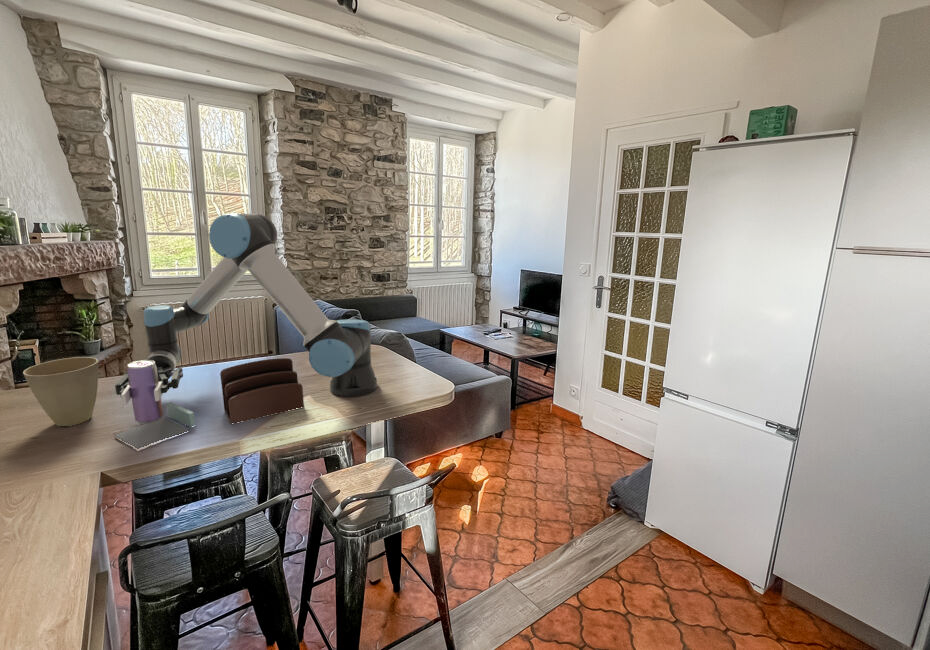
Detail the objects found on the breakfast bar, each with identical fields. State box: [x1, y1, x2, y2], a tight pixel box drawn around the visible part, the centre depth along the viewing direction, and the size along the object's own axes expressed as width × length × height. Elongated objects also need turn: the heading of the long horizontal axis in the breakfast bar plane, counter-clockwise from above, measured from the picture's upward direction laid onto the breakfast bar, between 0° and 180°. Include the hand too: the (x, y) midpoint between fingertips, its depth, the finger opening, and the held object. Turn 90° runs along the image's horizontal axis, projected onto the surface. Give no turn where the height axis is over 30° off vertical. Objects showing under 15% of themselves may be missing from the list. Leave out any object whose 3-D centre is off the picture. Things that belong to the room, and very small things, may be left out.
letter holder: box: [219, 357, 305, 425], centre depth 130 cm, size 10×20×14 cm, turn 127°
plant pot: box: [22, 356, 99, 427], centre depth 121 cm, size 15×15×16 cm
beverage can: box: [126, 359, 164, 425], centre depth 113 cm, size 6×6×15 cm
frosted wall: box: [165, 401, 196, 428], centre depth 123 cm, size 12×1×4 cm, turn 58°
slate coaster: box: [114, 417, 190, 449], centre depth 116 cm, size 12×12×1 cm
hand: (140, 397), depth 109 cm, fingers closed on beverage can, 6 cm apart
